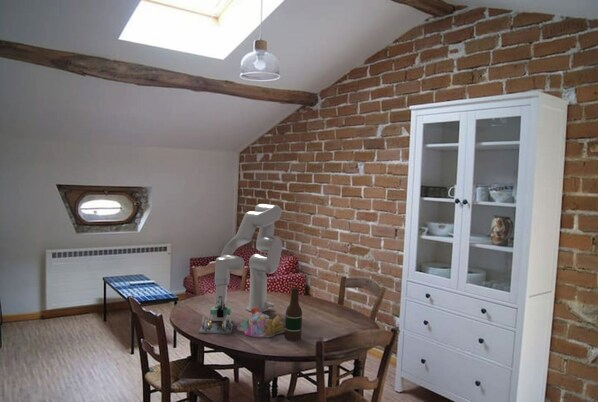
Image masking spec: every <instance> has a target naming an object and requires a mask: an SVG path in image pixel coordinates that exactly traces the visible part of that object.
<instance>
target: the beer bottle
mask: <svg viewBox="0 0 598 402" xmlns="http://www.w3.org/2000/svg"><path fill="white" fill-rule="evenodd" d="M299 291H300V288H299V287H296V286H292V287H291V289H290V300H289V301H290V302H289V305H288V307H287V308H286V310H285V321H284V323H285V324H284V325H285V331H284V338H285V339H286V340H287V341H291V340H292V341H291V342H294V341H299V340H300V339H302V327H303V310H302V307H301V306H300V302H299Z"/></svg>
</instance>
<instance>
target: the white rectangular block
mask: <svg viewBox="0 0 598 402" xmlns="http://www.w3.org/2000/svg"><path fill="white" fill-rule="evenodd" d="M229 318H230V315H228V321H229ZM224 320H226V315H223V318H217V315H212V322H223V321H224Z"/></svg>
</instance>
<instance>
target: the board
mask: <svg viewBox="0 0 598 402" xmlns="http://www.w3.org/2000/svg"><path fill="white" fill-rule="evenodd" d="M217 307H218V305H217V306H212V307H211V308H210V313H209V314H210V315H211V316H213V315H217ZM231 313H232V306H225V307H223V315H227V314H228V315H229V316H231Z"/></svg>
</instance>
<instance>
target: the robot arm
mask: <svg viewBox="0 0 598 402" xmlns="http://www.w3.org/2000/svg"><path fill="white" fill-rule="evenodd" d="M282 213H283V211H282V208H281V207H280V206H279V205H277V204H269V203H268V204H267V203H259V204H256V206H255V207H254V211H253V210H252V211H251V210H250V211H247V212H245V214H244V215H243V218H242V220H241V222H240V225H239V228H238V230H237V232H236V234H235V236H233V237H232V239H230V240H229V241H228V242H227V243H226V244H225V245H224V247H223V249H222V251H221V254H220V256H219V257H217V258H216V259H215V267H214V285H216V287H215V297H214V298H215V300H214V304H215V305H217V306H218V307H217V318H223V307H226V302H227V297H228V296H227V294H228V286H229V285H230V276H231V275H230V273H231V272H233V271H236V272H237V271H240V270H242V269H243V268H244V267H245V259H244V258H243V257H241V256H237V255H234V252H235V251H236V250H237V249H238V248H240V247H241V246H244V245H246V244H248V243H250V242H251V241H252V240H253V239H252V238H253V236H254V234H255V231H256V229H257V228H258V229H259V230H258V234H257V238H256V241H255V242H256V244H255V249H256V250H257V251H259V252H261V253H254V254H252V255H251V256H250V257H249V261H248V267H249V272H250V273H249V274H250V277H249V278H250V280H249V299H248V302H249V303H248V304H247V306H246V310H247V311H248V312H251V309H252V308H253V307H257V308H258V309H259V312H262V313H265V312H267V311H269V309H270V308H274V306H275V303H272V302H268V300H267V292H268V290H267V289H268V276H267V274H273V273H276V271H277V270H278V267H279V264H280V260H281V256H282V252H283V242H282V239H280V238H279V237H278V236H274V234H275V222H277V221H279V220H280V218H281V217H282ZM264 253H267V254H264Z"/></svg>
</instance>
